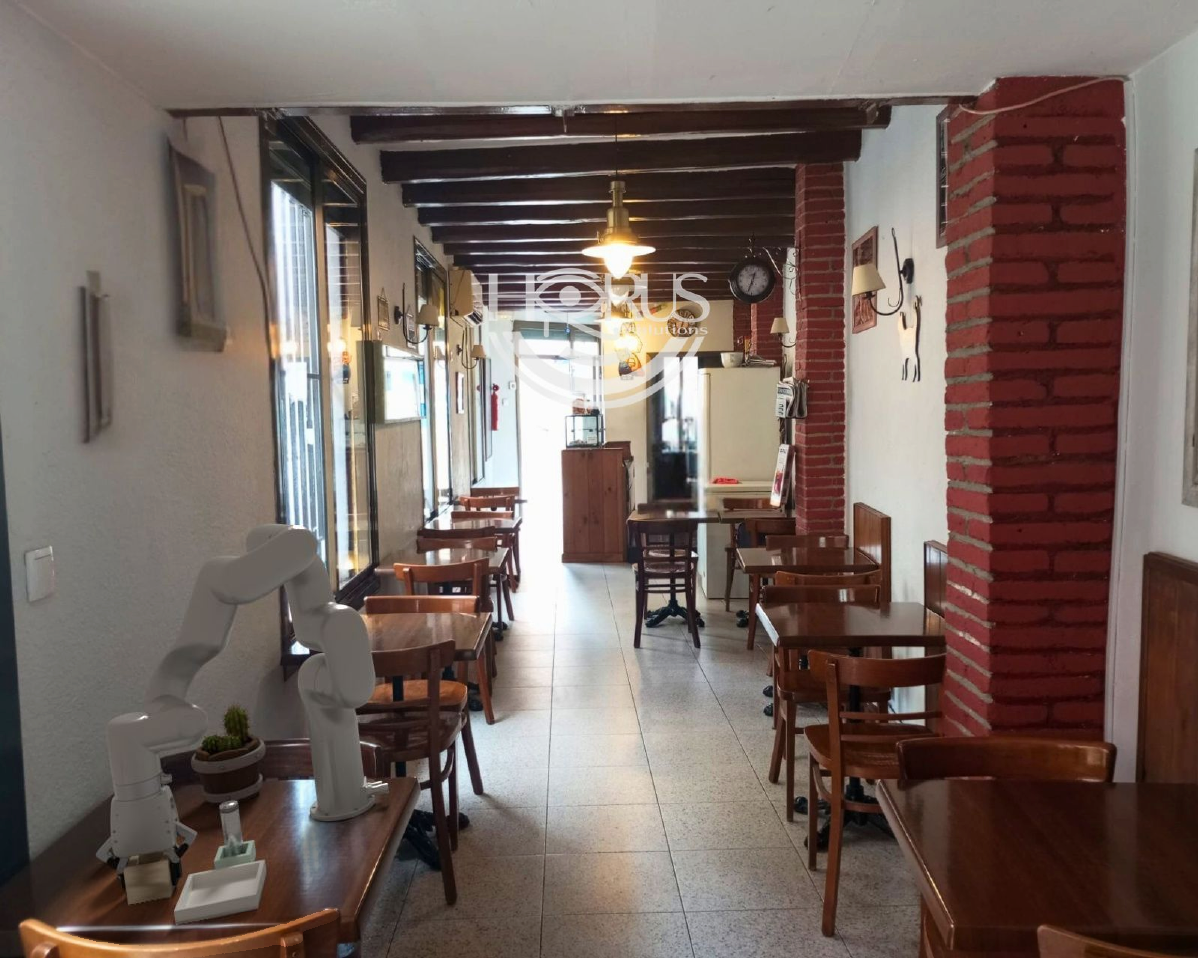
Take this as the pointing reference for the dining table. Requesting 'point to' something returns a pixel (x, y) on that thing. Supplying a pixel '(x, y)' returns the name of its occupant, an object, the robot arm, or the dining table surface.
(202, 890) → the tray
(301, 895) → the dining table surface
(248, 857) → the socket
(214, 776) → the flowerpot
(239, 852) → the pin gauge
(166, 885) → the maple block
